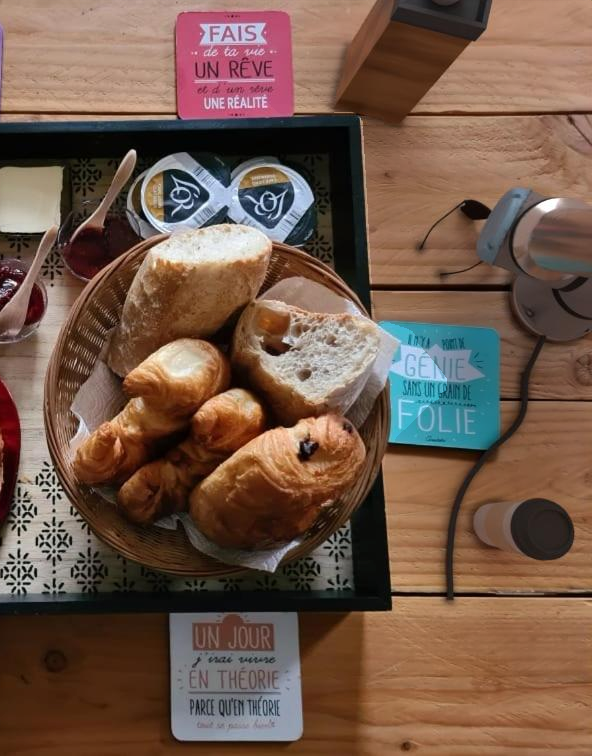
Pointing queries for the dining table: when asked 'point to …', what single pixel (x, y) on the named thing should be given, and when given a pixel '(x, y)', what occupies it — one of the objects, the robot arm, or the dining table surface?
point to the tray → (445, 16)
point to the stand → (393, 65)
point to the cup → (445, 2)
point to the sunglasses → (473, 212)
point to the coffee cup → (526, 528)
